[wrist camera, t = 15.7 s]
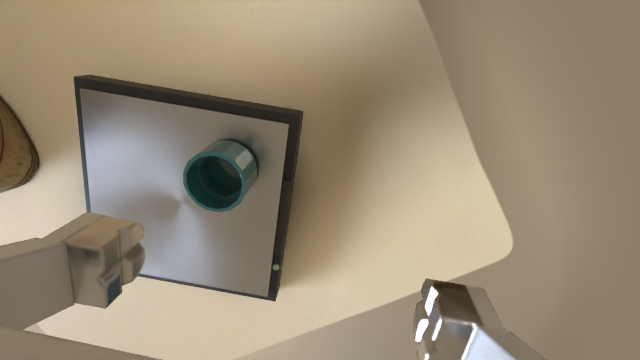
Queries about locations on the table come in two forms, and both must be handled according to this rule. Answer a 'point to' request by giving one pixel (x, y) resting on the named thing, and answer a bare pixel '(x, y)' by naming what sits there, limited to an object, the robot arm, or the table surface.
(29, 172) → the ceramic vessel
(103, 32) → the table surface
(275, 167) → the scale
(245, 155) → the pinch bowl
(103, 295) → the robot arm
